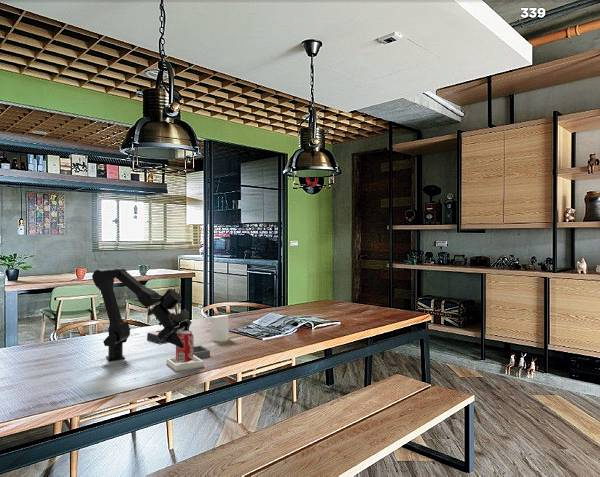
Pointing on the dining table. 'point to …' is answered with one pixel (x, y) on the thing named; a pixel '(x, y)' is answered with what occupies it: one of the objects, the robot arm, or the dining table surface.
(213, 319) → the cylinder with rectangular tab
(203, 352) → the dark gray square tray
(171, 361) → the tray
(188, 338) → the soda can
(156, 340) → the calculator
